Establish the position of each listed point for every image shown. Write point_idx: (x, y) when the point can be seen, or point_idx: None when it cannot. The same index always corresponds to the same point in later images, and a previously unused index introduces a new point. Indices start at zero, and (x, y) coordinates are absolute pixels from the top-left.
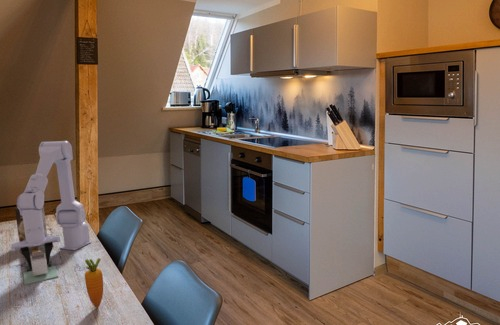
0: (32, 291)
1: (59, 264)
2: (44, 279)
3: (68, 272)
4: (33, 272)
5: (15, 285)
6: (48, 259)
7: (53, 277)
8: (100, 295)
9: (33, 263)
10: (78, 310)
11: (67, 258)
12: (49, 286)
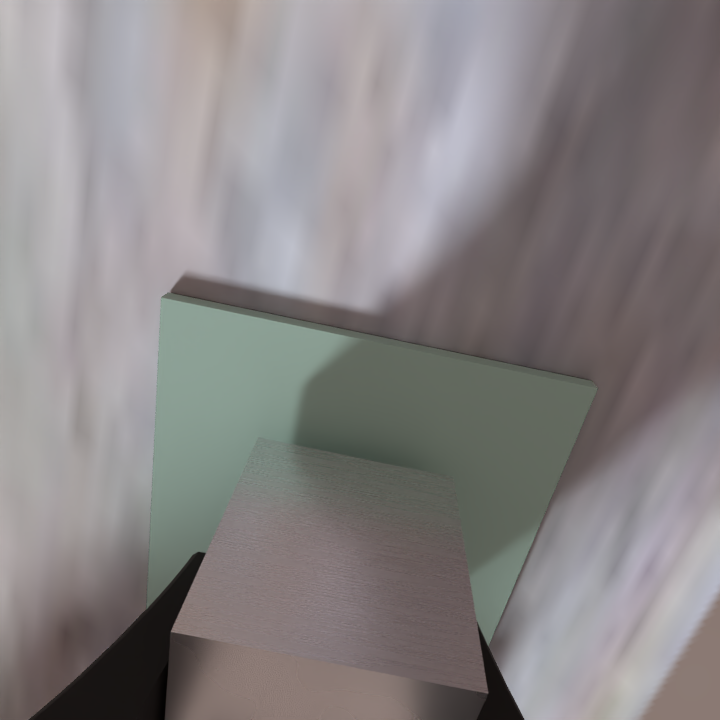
0: (616, 43)
1: (102, 627)
2: (343, 333)
3: (25, 342)
4: (448, 510)
5: (669, 454)
6: (145, 623)
7: (225, 307)
8: None
9: (442, 640)
10: None
11: (11, 697)
12: (349, 28)
